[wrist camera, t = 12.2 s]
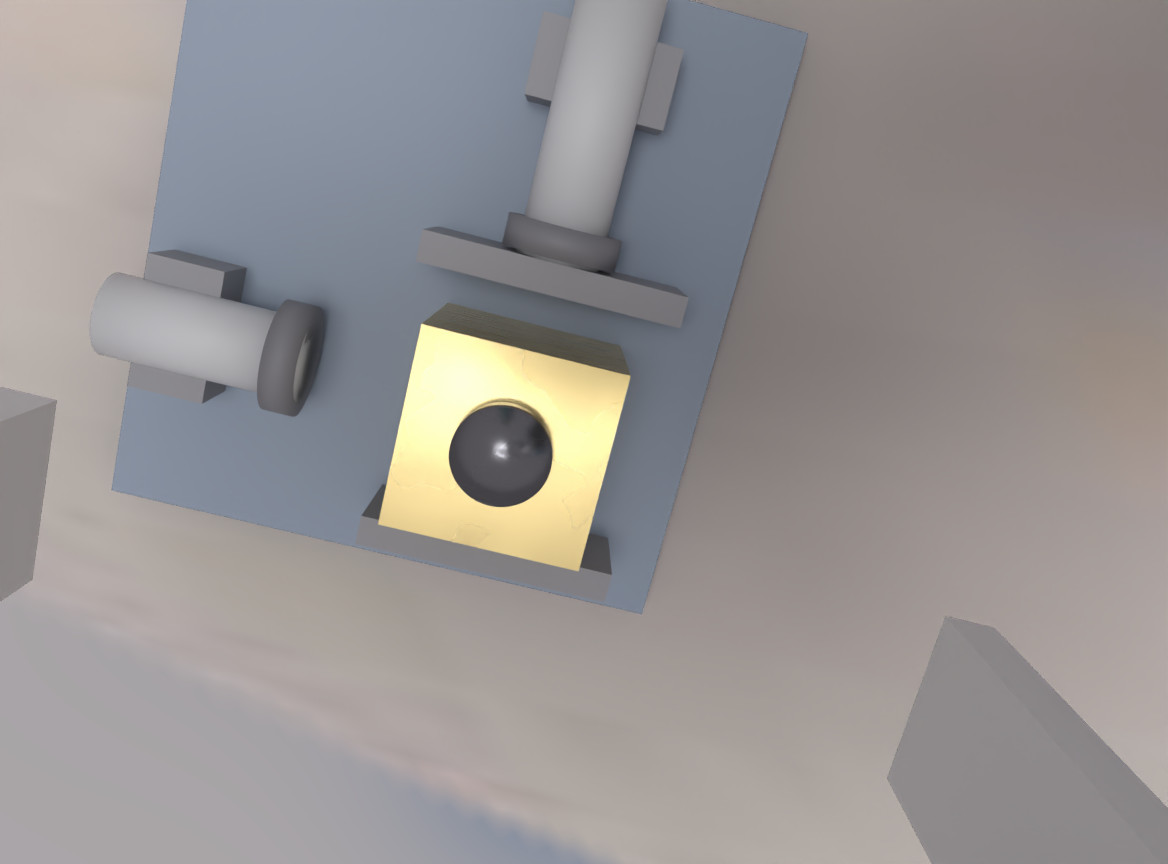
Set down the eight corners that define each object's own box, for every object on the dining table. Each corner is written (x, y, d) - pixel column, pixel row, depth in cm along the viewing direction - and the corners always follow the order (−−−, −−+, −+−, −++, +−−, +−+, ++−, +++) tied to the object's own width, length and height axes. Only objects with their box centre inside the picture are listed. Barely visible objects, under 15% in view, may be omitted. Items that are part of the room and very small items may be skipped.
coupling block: (410, 469, 29) (373, 532, 23) (447, 302, 28) (417, 327, 22) (577, 509, 29) (578, 580, 24) (620, 345, 28) (632, 380, 23)
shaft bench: (223, -119, 26) (154, -183, 22) (798, 40, 27) (841, 9, 23) (129, 478, 30) (53, 526, 26) (639, 598, 31) (650, 663, 27)
